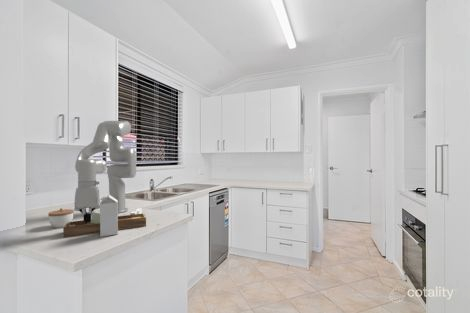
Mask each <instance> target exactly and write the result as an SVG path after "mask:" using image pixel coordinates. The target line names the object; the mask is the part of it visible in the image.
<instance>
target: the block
mask: <svg viewBox="0 0 470 313" xmlns="http://www.w3.org/2000/svg"><path fill="white" fill-rule="evenodd" d="M90 223H100V210H99V211H98V210H94V211H93V212H92V215H91V222H90Z"/></svg>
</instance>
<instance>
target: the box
mask: <svg viewBox="0 0 470 313" xmlns="http://www.w3.org/2000/svg"><path fill="white" fill-rule="evenodd" d="M90 222H91V220H90V221H89V222H85V220H84V219H82V220H75V221H73V220H72V222H68V223H67V224H66V225H65V226H64V227H62V228H63V230H62V231H63V232H62V233H63V236H62V237H63V238H71V237H77V236H78V237H79V236H85V235H91V234H92V235H93V234H100V223H90ZM143 227H147V217H146V214H145V213H144V212H142V214H134V215H130V214H128V215H127V214H126V215H125V214H124V215H118V231H120V230H121V231H122V230H127V229H134V228H136V229H137V228H143Z"/></svg>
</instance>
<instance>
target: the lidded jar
mask: <svg viewBox="0 0 470 313" xmlns="http://www.w3.org/2000/svg"><path fill="white" fill-rule="evenodd" d="M74 212H75V211H74V209H72V208H71V209H70V208H68V209H67V208H66V209H63V208H62V207H61V208H59V210H53V211H50V212H48V213H47V215H48V221H49V225H51V226H52V227H53V228H55V229H60V228H63V227H64V226H65V225H66V224H67V223H68V222H73V219H74Z"/></svg>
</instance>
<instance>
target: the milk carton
mask: <svg viewBox="0 0 470 313" xmlns="http://www.w3.org/2000/svg"><path fill="white" fill-rule="evenodd" d="M99 206H100V208H99V212H100V233H99V235H100V237H99V238H103V237H107V236H108V237H109V236H116V235H118V234H119V230H118V216H119V213H118V200H117V199H115V198H114V197H112V196H111V195H109V193H108V194H107V196H104V195H103V197H101V198H100V202H99Z"/></svg>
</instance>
